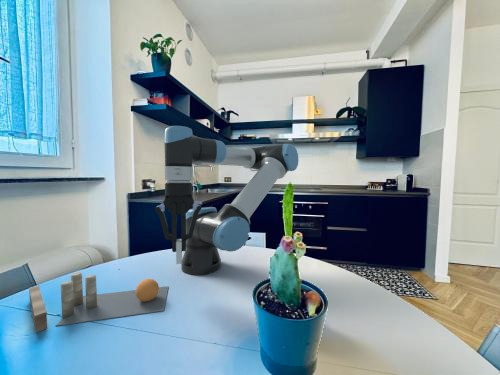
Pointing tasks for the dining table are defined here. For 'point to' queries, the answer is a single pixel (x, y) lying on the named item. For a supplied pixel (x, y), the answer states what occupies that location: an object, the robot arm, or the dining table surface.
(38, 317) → the back wall
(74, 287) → the pin
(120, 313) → the mat
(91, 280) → the front pin
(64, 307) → the pin
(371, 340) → the dining table surface
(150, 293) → the ball
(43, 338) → the dining table surface
